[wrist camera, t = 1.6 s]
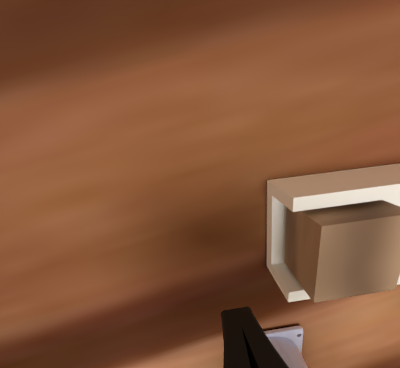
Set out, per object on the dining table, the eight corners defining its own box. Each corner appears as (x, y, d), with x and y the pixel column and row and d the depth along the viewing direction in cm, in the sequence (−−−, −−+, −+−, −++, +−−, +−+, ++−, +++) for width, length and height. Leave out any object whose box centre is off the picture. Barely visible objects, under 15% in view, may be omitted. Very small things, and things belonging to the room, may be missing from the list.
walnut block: (284, 262, 17) (313, 302, 13) (286, 200, 15) (321, 226, 11) (348, 252, 17) (395, 289, 13) (358, 190, 15) (416, 212, 12)
